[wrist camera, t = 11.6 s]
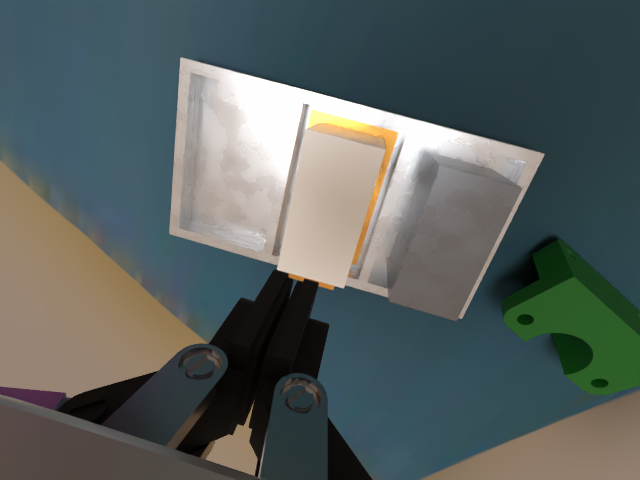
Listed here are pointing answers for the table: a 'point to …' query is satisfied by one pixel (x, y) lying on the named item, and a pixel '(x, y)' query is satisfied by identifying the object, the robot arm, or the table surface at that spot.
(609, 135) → the table surface
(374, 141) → the cream upright block
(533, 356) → the table surface
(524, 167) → the grey compartment tray
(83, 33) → the table surface
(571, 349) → the clamp
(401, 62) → the table surface
